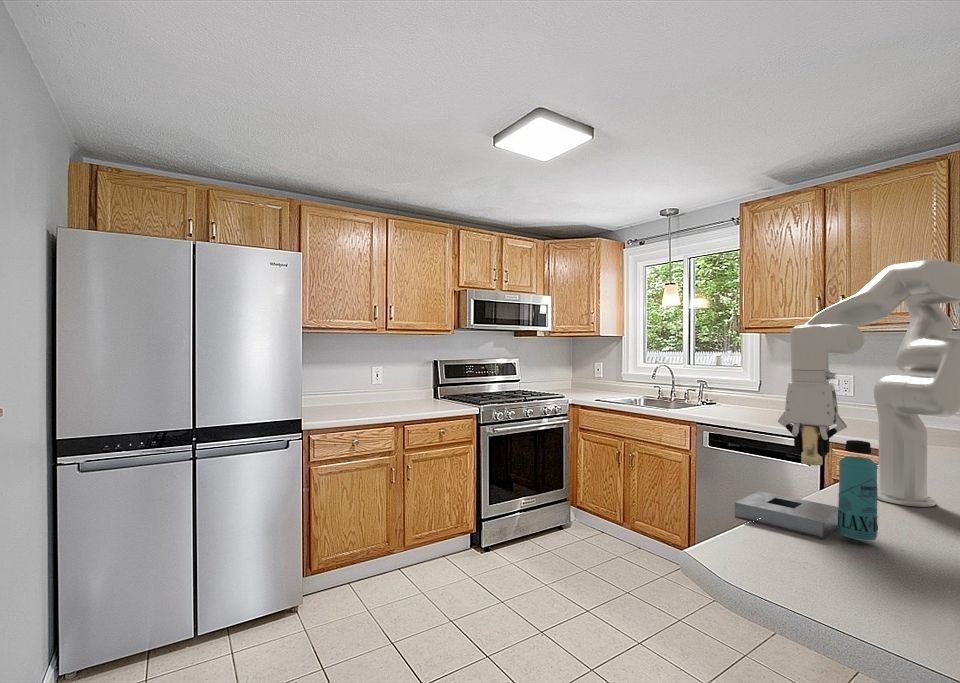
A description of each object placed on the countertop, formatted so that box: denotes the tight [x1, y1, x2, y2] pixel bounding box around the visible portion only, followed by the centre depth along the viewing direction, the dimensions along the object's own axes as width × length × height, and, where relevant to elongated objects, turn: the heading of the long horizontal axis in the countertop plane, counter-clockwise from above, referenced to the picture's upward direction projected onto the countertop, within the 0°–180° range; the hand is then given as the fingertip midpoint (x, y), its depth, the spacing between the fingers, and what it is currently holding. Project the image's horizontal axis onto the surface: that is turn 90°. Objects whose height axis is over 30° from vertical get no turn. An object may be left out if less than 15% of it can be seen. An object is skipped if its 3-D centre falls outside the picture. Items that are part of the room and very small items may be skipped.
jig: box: [734, 490, 839, 540], centre depth 113 cm, size 14×17×4 cm
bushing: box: [800, 425, 823, 466], centre depth 122 cm, size 4×4×9 cm
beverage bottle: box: [837, 439, 879, 541], centre depth 101 cm, size 6×7×20 cm
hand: (811, 453), depth 122 cm, fingers closed on bushing, 4 cm apart
